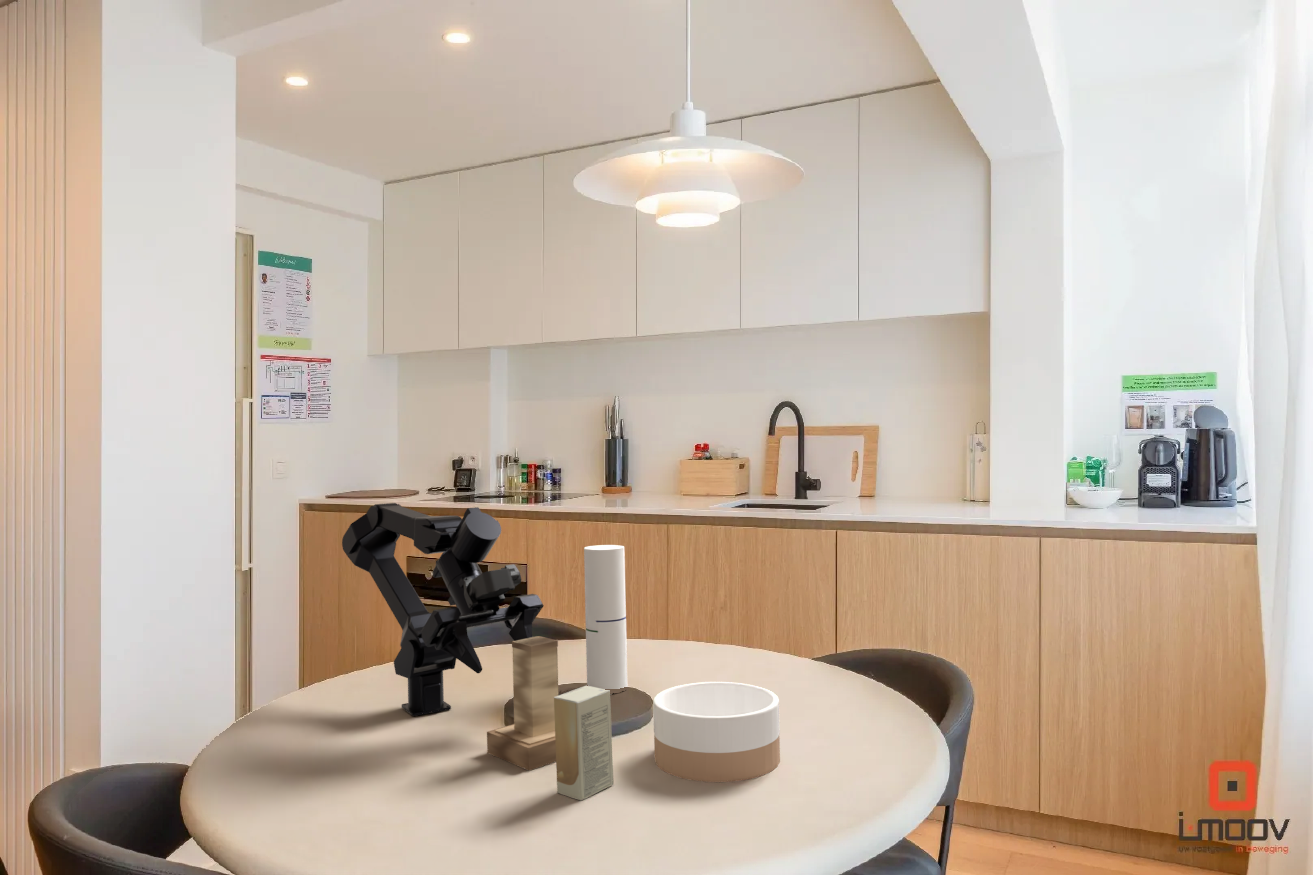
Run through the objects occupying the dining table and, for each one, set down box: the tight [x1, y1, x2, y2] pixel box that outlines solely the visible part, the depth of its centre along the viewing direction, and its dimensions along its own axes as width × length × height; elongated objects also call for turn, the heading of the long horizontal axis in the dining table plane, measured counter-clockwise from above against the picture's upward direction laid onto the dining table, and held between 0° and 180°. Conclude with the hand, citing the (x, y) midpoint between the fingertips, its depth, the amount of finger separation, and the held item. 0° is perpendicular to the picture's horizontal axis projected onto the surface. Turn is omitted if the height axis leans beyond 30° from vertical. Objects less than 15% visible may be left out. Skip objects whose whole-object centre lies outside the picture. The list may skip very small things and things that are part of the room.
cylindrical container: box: [583, 544, 629, 689], centre depth 158 cm, size 7×7×25 cm
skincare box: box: [554, 685, 614, 801], centre depth 112 cm, size 6×4×12 cm
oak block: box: [511, 635, 559, 737], centre depth 126 cm, size 5×5×12 cm
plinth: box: [486, 723, 556, 772], centre depth 126 cm, size 10×10×3 cm
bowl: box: [652, 681, 781, 783], centre depth 122 cm, size 17×17×8 cm
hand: (507, 665), depth 131 cm, fingers open, 9 cm apart
